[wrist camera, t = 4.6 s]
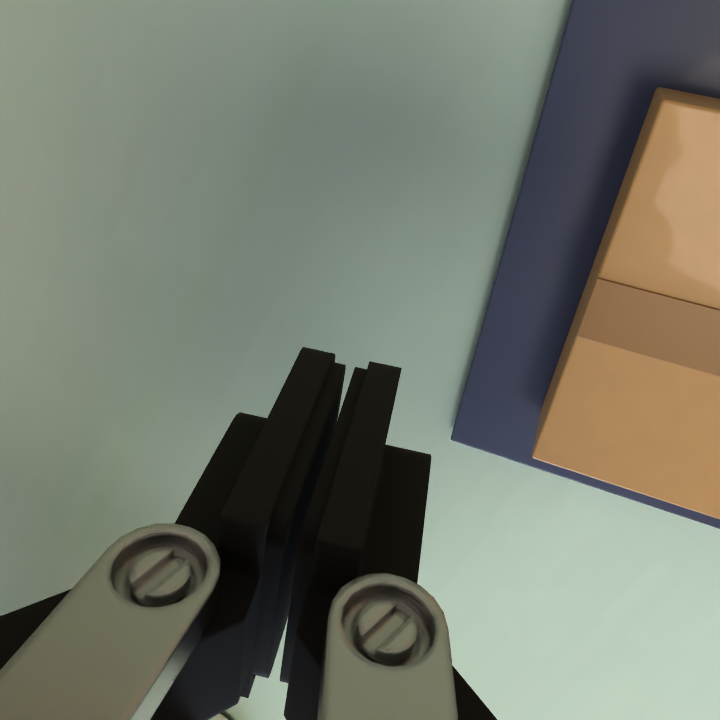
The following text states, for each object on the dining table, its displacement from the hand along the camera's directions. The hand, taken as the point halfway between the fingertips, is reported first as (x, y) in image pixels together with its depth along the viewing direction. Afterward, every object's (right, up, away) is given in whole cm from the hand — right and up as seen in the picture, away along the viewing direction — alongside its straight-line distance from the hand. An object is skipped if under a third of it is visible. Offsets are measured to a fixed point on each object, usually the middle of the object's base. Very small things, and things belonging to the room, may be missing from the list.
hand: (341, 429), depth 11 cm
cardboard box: (+11, +3, +9) cm, 15 cm away
